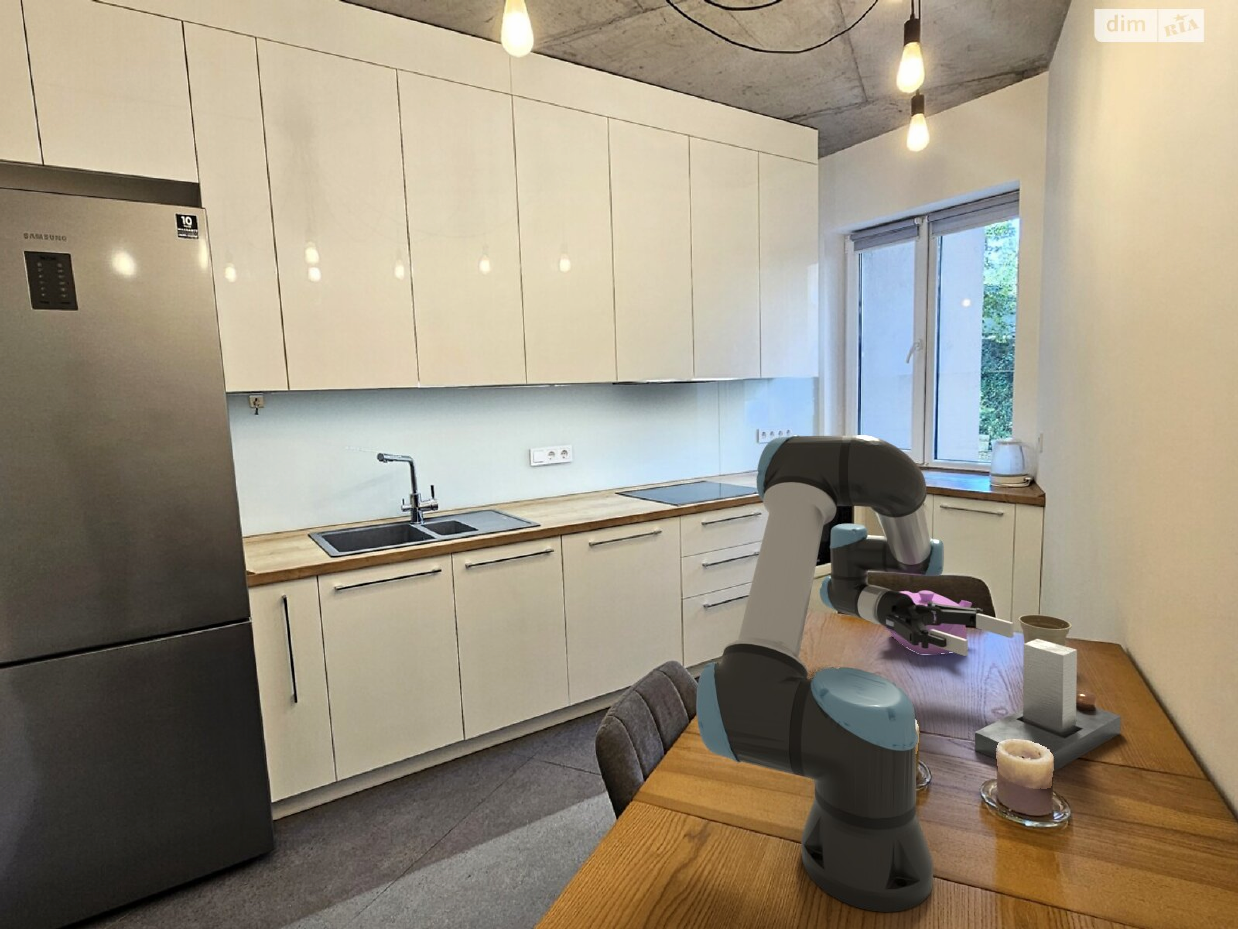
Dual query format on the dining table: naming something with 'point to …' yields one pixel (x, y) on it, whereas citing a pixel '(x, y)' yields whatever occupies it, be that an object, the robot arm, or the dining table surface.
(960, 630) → the teakettle
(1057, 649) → the white rectangular block
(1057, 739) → the post stand
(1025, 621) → the flower pot
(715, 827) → the dining table surface
